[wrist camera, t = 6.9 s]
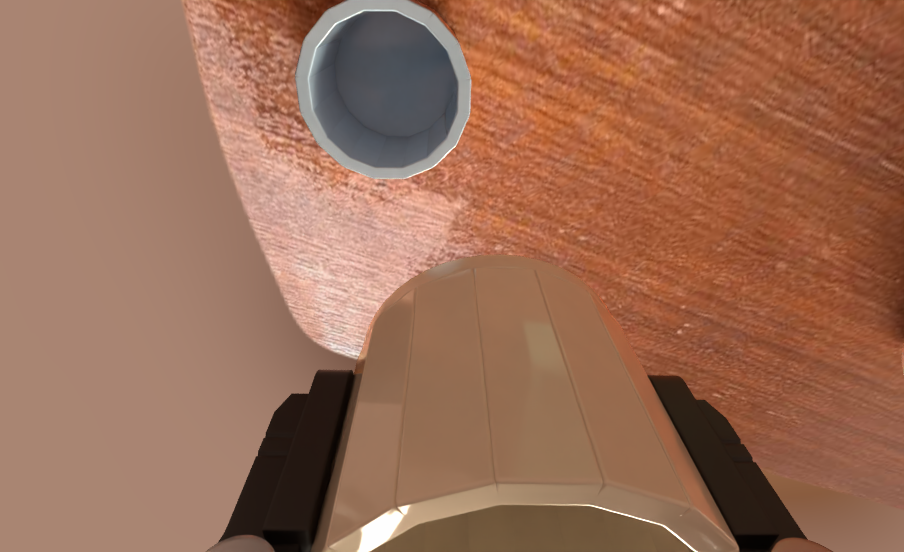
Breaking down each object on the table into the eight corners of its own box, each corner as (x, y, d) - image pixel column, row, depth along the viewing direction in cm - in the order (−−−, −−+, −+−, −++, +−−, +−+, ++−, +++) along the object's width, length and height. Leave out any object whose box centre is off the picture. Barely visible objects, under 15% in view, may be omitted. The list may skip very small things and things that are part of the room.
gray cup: (335, 142, 23) (309, 178, 19) (319, -6, 20) (281, -8, 15) (462, 143, 23) (467, 179, 19) (466, -4, 20) (474, -5, 15)
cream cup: (370, 447, 13) (328, 697, 8) (352, 249, 10) (267, 478, 5) (591, 450, 13) (672, 696, 9) (646, 256, 10) (825, 484, 5)
